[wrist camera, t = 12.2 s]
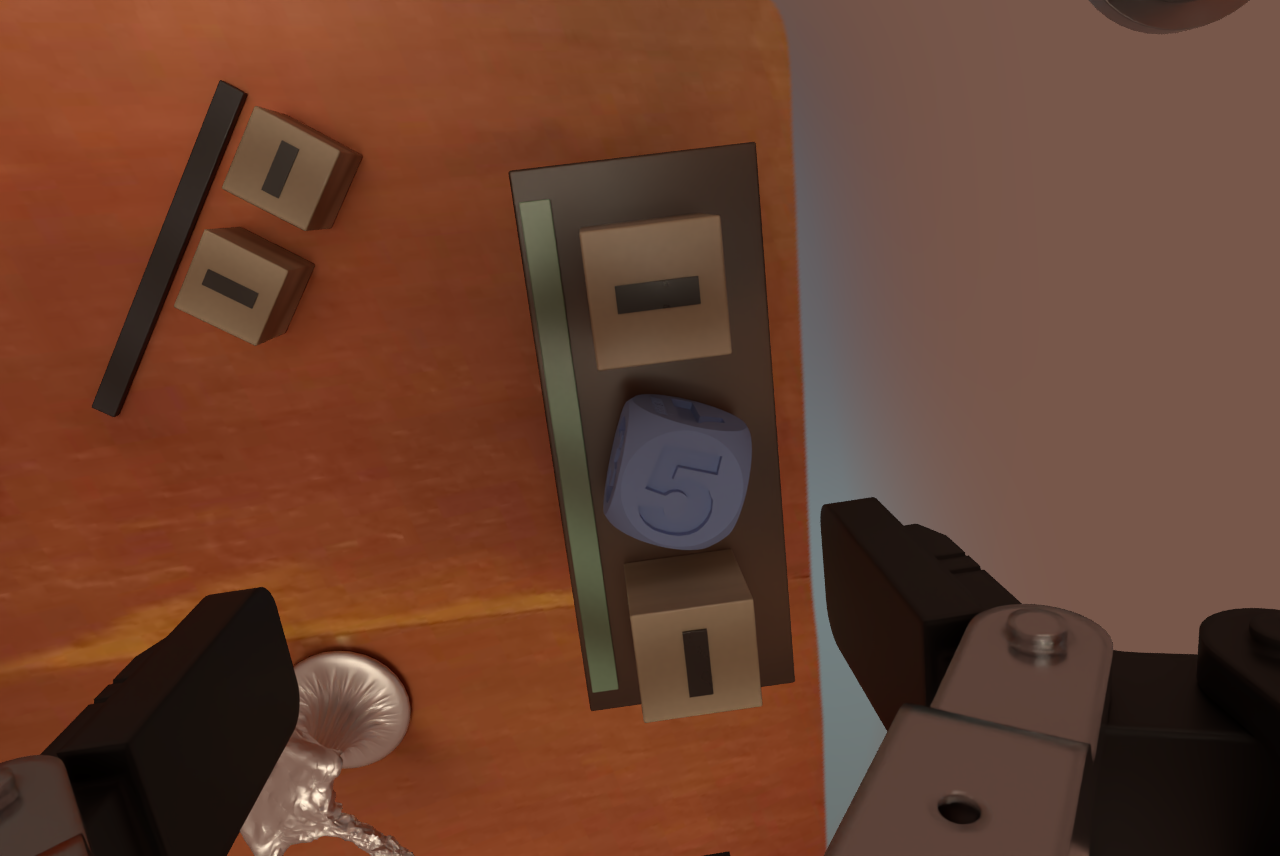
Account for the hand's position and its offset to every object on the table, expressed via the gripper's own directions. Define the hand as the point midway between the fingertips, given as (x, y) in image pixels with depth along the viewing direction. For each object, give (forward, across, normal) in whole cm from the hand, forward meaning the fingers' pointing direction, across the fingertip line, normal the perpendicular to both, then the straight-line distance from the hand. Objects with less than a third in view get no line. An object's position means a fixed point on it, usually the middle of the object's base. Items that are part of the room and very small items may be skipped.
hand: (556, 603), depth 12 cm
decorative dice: (+17, -3, +3) cm, 17 cm away
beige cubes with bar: (+33, +17, -4) cm, 37 cm away
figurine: (+33, +16, +21) cm, 42 cm away
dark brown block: (+33, -3, +3) cm, 33 cm away
